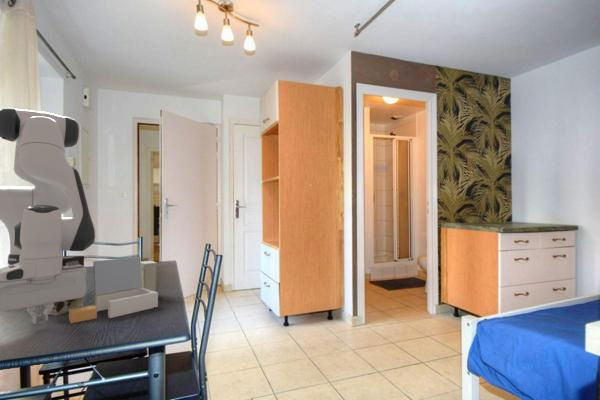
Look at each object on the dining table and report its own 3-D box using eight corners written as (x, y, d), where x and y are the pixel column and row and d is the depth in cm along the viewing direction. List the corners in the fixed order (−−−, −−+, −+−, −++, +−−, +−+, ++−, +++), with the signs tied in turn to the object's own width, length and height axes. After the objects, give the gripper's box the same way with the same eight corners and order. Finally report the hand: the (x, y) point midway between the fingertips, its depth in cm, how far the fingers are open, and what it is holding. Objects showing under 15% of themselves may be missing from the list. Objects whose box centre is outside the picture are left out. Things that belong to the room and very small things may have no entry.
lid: (96, 295, 100) (94, 295, 101) (142, 287, 111) (140, 287, 112) (94, 261, 101) (92, 261, 102) (140, 256, 112) (138, 256, 113)
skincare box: (138, 295, 117) (138, 261, 118) (151, 293, 120) (152, 260, 121) (142, 299, 112) (143, 263, 113) (156, 297, 115) (157, 262, 116)
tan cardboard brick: (68, 320, 92) (68, 309, 92) (93, 315, 96) (93, 305, 96) (71, 323, 89) (71, 312, 89) (96, 318, 93) (96, 308, 93)
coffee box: (57, 316, 95) (58, 259, 96) (39, 314, 96) (40, 258, 97) (84, 306, 104) (85, 255, 104) (66, 305, 105) (68, 254, 106)
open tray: (94, 310, 100) (94, 295, 100) (140, 300, 111) (141, 287, 111) (110, 318, 93) (110, 302, 93) (157, 306, 104) (157, 292, 104)
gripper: (82, 261, 96) (81, 310, 95) (-15, 272, 80) (-16, 330, 79) (90, 264, 92) (89, 314, 91) (-9, 275, 76) (-11, 336, 75)
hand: (39, 322), depth 85 cm, fingers closed
